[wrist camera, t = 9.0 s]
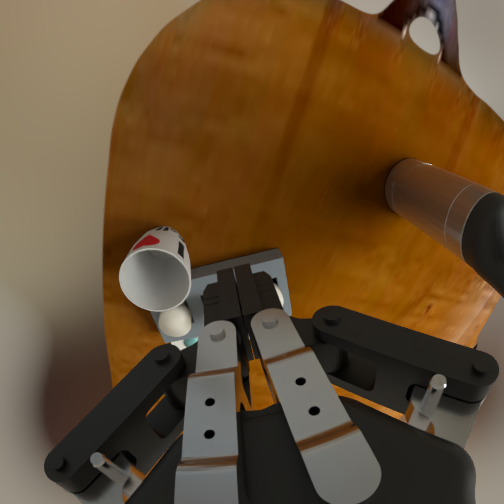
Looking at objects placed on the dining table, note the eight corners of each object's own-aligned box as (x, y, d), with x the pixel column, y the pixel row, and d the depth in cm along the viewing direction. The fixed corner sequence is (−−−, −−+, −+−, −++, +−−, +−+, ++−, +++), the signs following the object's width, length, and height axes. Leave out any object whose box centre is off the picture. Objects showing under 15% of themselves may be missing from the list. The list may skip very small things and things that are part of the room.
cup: (200, 224, 41) (199, 258, 32) (185, 275, 44) (182, 318, 35) (141, 209, 39) (124, 239, 30) (131, 261, 42) (115, 302, 33)
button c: (186, 289, 44) (185, 308, 40) (195, 313, 46) (195, 333, 42) (157, 296, 44) (153, 315, 40) (167, 319, 46) (165, 339, 42)
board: (278, 247, 44) (283, 257, 41) (287, 303, 49) (292, 314, 46) (144, 280, 43) (140, 291, 40) (166, 330, 48) (165, 343, 45)
